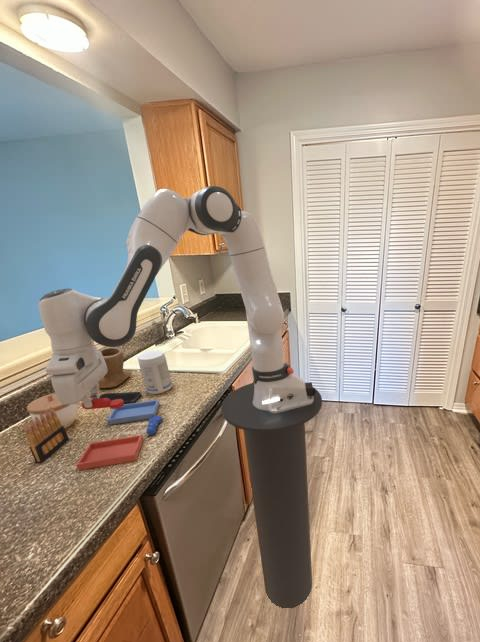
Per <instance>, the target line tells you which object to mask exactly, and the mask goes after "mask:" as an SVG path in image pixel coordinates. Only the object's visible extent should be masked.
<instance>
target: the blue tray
mask: <svg viewBox="0 0 480 642" xmlns="http://www.w3.org/2000/svg"><path fill="white" fill-rule="evenodd" d="M160 405H161V404H160V401H159V399H153V400H147V401H146V400H145V401H139V402H135V403H132V404H124V405H123V406H122V407H120V408H117V409H112V411H111V413H110V415H109V416H108V418H107V419H106V421H107V424H108V426H113V425H117V424H119V425H120V424H125V423H131V422H139V421H144V420H150V419H151V418H152V417H155V416H157V414H158V410H159V407H160Z"/></svg>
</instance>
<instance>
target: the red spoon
mask: <svg viewBox="0 0 480 642" xmlns="http://www.w3.org/2000/svg"><path fill="white" fill-rule="evenodd" d="M93 402H94V405H93V406H92V407H89V408H86V407H85V406H84V403H83V402H82V403H81V407H82V409H84V410H97V409H105V408H109V409H111V410H114V409H117V408H120V407H122V406H123V405H124V402H123V400H122V399H115V400H112V401H111V400H110V399H108V398H101V399H93Z"/></svg>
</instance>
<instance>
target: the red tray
mask: <svg viewBox="0 0 480 642" xmlns="http://www.w3.org/2000/svg"><path fill="white" fill-rule="evenodd" d="M143 443H144V436H143V434H137V435H132V436H125V437H119V438H113V439H106V440H100V441H93V442H89V443H88V445H87V446H86V448H85V450H84V452H83V453H82V455H81V457H79V460H78V462H77V463H76V465H75V466H76V467H77V470H78V471H83V470H89V469H95V468H100V467H107V466H112V465H117V464H123V463H128V462H129V463H130V462H134V461H137V460H138V456H139V454H140V451H141V448H142V446H143Z"/></svg>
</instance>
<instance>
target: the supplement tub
mask: <svg viewBox="0 0 480 642" xmlns="http://www.w3.org/2000/svg"><path fill="white" fill-rule="evenodd" d="M137 360H138V365H139V369H140V373H141V376H142V379H143V383H144V386H145V389H146V392H147V393H148V394H150V395H158V394H163V393H166V392H167V391H169V390H170V389H172V386H173V382H172V378H171V374H170V370H169V366H168V362H167V358H166V355H165V352H164V351H162V350H151V351H146V352H143V353H140V354H139V355H138V356H137Z"/></svg>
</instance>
